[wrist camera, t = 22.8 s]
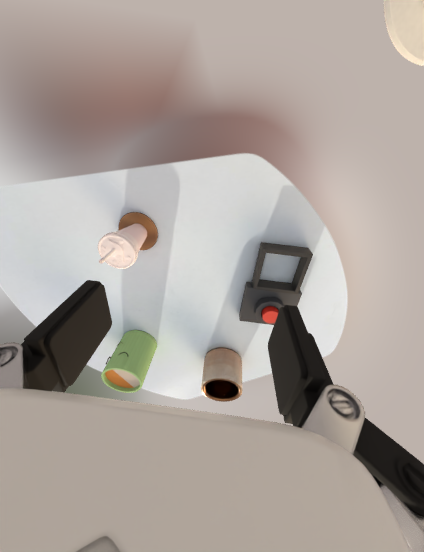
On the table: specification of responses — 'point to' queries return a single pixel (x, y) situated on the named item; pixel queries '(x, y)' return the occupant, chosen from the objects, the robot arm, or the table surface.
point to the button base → (263, 302)
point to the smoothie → (122, 246)
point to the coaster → (144, 221)
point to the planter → (222, 375)
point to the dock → (283, 250)
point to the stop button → (270, 314)
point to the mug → (130, 362)
